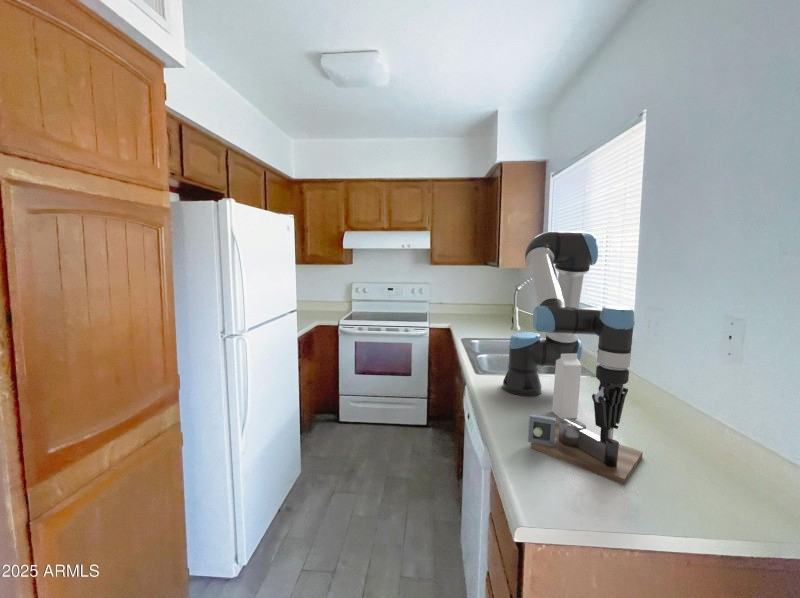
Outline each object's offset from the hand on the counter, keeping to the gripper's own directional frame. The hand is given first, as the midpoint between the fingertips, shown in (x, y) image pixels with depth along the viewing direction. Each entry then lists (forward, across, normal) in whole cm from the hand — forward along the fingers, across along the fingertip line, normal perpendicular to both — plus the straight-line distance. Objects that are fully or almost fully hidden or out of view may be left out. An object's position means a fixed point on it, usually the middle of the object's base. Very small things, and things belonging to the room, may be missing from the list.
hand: (605, 449), depth 102 cm
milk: (+4, -17, -24) cm, 30 cm away
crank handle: (+2, +1, -4) cm, 5 cm away
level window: (+2, +9, -14) cm, 16 cm away
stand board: (+4, 0, -6) cm, 7 cm away
